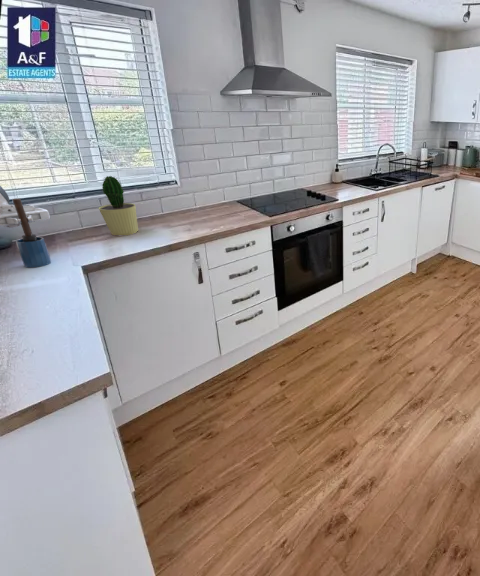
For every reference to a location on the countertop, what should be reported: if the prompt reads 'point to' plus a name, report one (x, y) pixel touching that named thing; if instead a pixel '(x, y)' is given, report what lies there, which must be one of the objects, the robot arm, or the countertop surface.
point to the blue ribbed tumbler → (33, 252)
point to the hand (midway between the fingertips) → (24, 220)
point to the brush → (24, 221)
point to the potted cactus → (118, 209)
